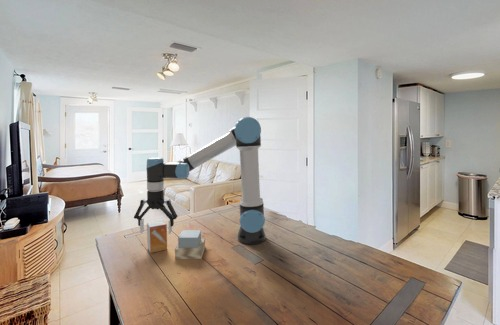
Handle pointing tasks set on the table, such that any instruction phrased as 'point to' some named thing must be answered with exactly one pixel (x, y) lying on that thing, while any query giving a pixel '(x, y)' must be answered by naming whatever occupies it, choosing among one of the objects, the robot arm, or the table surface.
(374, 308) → the table surface
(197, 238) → the tower top
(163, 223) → the small box
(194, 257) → the tower base
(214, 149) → the robot arm
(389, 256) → the table surface
